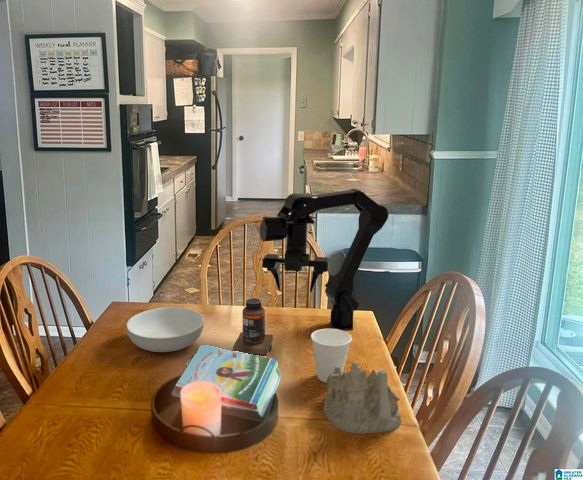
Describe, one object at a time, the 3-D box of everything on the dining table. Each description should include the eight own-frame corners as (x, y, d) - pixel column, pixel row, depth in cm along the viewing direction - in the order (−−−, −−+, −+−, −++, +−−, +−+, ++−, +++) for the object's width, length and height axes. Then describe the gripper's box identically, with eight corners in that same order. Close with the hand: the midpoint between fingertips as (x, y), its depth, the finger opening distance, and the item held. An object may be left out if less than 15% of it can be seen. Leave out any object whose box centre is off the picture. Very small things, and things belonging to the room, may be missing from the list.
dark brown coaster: (272, 348, 144) (272, 334, 143) (266, 363, 135) (267, 349, 134) (240, 345, 145) (240, 332, 144) (233, 360, 136) (232, 346, 135)
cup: (354, 373, 131) (357, 333, 129) (341, 392, 123) (343, 349, 120) (318, 364, 135) (319, 325, 133) (302, 382, 127) (304, 340, 124)
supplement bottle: (261, 334, 143) (261, 295, 140) (267, 343, 138) (268, 303, 135) (239, 337, 141) (239, 297, 138) (245, 346, 136) (246, 305, 133)
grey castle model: (406, 433, 107) (408, 365, 104) (326, 436, 107) (326, 367, 104) (390, 397, 123) (391, 336, 120) (320, 399, 122) (320, 338, 119)
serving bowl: (111, 352, 139) (109, 328, 138) (158, 323, 158) (157, 302, 157) (176, 368, 132) (176, 343, 130) (218, 336, 151) (218, 314, 149)
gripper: (258, 244, 141) (258, 298, 145) (327, 248, 138) (325, 303, 142) (266, 234, 151) (265, 285, 155) (330, 238, 149) (327, 289, 153)
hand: (295, 290), depth 151 cm, fingers open, 9 cm apart
